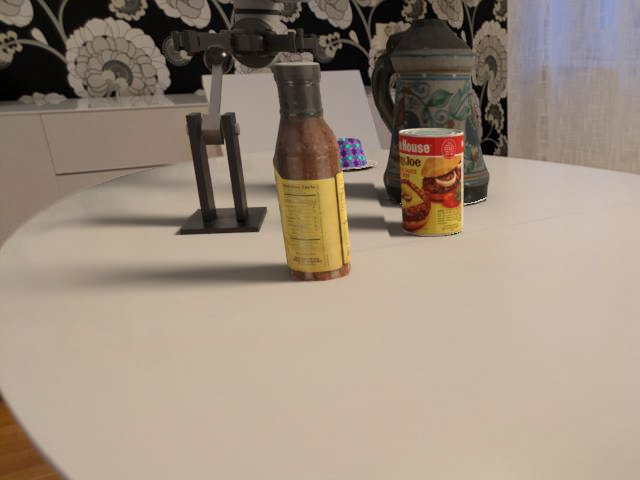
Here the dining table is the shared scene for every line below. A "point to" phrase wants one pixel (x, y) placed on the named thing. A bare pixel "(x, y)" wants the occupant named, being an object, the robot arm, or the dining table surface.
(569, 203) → the dining table surface
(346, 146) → the pudding
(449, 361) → the dining table surface
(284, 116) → the sauce bottle
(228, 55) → the lever
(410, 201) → the canned food
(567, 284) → the dining table surface
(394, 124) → the beer stein
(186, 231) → the bracket
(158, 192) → the dining table surface
